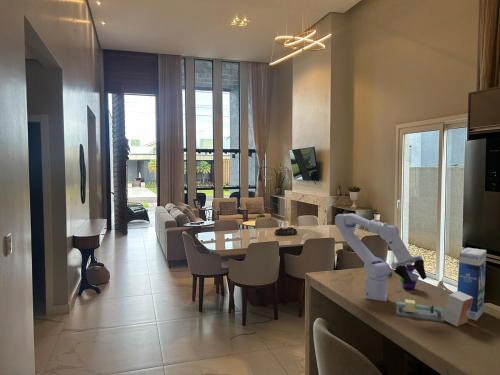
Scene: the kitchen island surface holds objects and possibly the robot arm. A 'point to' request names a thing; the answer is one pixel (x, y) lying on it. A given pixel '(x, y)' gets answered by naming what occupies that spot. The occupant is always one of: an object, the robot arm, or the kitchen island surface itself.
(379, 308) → the kitchen island surface
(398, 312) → the teal rod on plate
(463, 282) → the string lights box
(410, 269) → the potion bottle
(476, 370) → the kitchen island surface
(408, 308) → the sleeve
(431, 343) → the kitchen island surface
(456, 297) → the small box
